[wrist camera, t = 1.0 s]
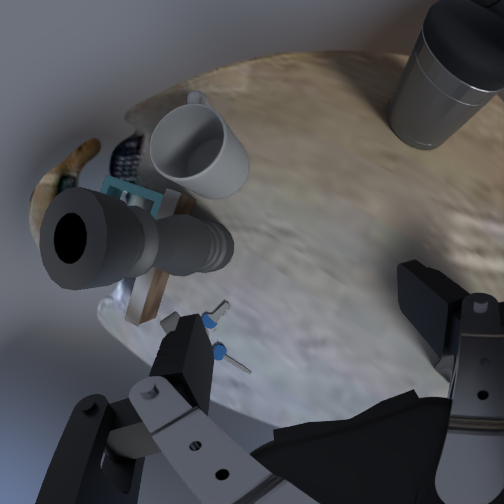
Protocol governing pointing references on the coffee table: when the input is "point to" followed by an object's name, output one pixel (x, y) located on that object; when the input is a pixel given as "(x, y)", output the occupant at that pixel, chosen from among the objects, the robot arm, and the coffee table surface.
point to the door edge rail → (154, 281)
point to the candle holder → (123, 241)
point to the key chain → (208, 322)
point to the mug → (199, 150)
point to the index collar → (131, 191)
